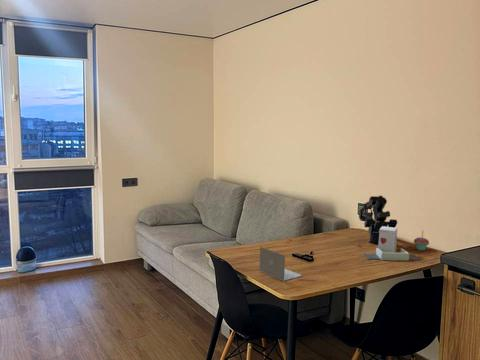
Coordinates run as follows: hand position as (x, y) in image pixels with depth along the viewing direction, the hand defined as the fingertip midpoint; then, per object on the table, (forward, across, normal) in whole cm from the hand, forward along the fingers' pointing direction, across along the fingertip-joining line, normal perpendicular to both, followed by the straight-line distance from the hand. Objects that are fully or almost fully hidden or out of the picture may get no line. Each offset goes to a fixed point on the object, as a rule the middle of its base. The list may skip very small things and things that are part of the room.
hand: (383, 235), depth 261 cm
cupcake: (+5, +24, +7) cm, 25 cm away
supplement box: (+12, 0, 0) cm, 13 cm away
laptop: (+40, -65, -28) cm, 82 cm away
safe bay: (+18, 0, -6) cm, 19 cm away
